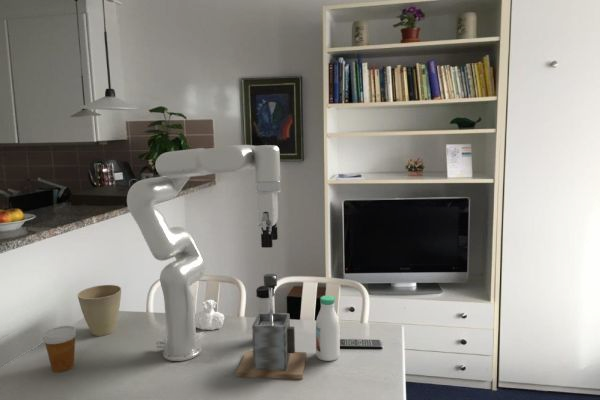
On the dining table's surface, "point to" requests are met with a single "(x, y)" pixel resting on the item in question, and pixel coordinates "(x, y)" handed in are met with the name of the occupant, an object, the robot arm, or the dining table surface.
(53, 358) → the disposable coffee cup
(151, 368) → the dining table surface
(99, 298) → the plant pot
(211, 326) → the bust
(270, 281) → the knob on square base
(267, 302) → the travel mug
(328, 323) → the milk bottle
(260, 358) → the stand
